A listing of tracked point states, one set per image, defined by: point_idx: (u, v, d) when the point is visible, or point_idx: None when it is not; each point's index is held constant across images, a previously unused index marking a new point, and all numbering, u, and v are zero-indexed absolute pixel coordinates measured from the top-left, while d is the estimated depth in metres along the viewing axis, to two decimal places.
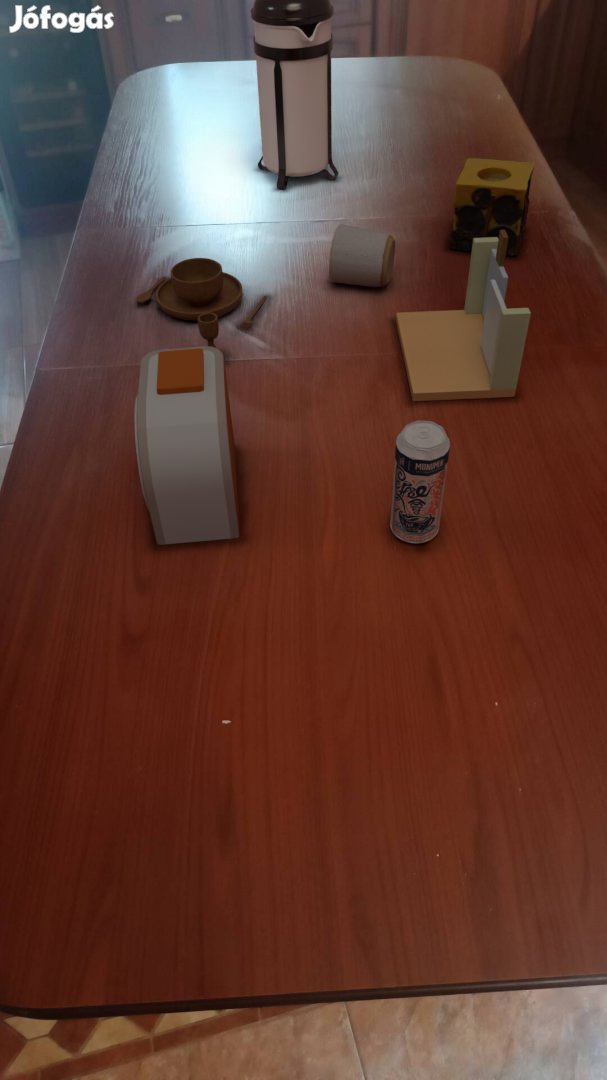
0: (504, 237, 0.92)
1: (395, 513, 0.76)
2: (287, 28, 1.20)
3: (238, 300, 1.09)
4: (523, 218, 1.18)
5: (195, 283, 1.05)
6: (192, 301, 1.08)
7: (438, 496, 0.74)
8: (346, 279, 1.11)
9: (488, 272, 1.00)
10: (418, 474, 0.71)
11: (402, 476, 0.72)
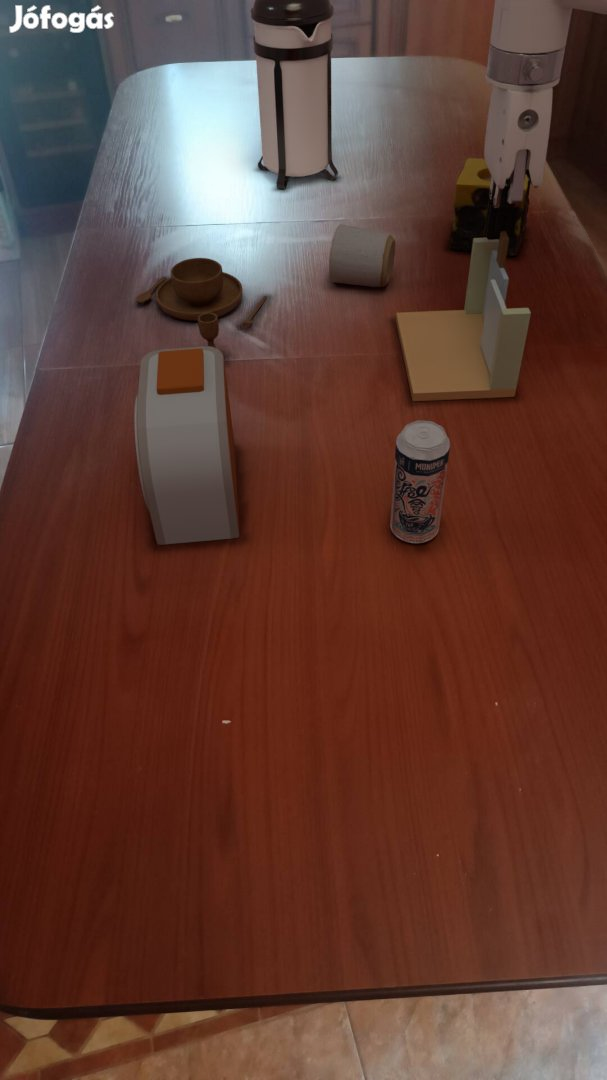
0: (505, 238, 0.92)
1: (395, 513, 0.76)
2: (287, 28, 1.20)
3: (238, 300, 1.09)
4: (523, 218, 1.18)
5: (195, 283, 1.05)
6: (192, 301, 1.08)
7: (438, 496, 0.74)
8: (346, 279, 1.11)
9: (489, 273, 1.00)
10: (418, 474, 0.71)
11: (402, 476, 0.72)
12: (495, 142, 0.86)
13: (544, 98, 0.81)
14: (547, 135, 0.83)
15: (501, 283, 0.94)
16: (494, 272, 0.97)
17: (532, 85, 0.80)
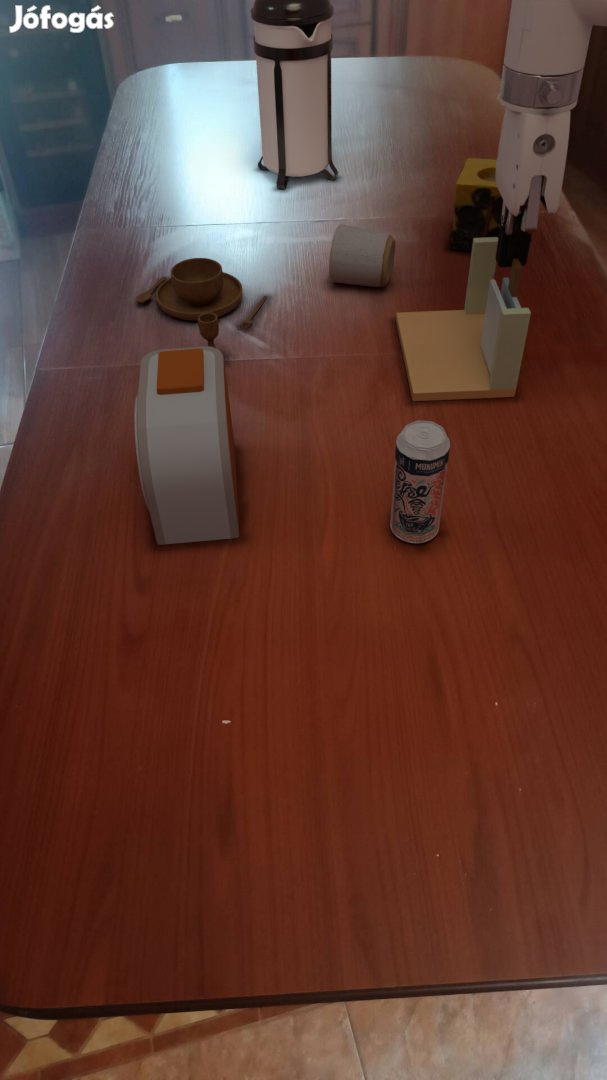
0: (517, 267, 0.87)
1: (395, 513, 0.76)
2: (287, 28, 1.20)
3: (238, 300, 1.09)
4: None
5: (195, 283, 1.05)
6: (192, 301, 1.08)
7: (438, 496, 0.74)
8: (346, 279, 1.11)
9: None
10: (418, 474, 0.71)
11: (402, 476, 0.72)
12: (508, 167, 0.81)
13: (561, 122, 0.76)
14: (564, 160, 0.78)
15: None
16: (506, 301, 0.92)
17: (548, 108, 0.76)
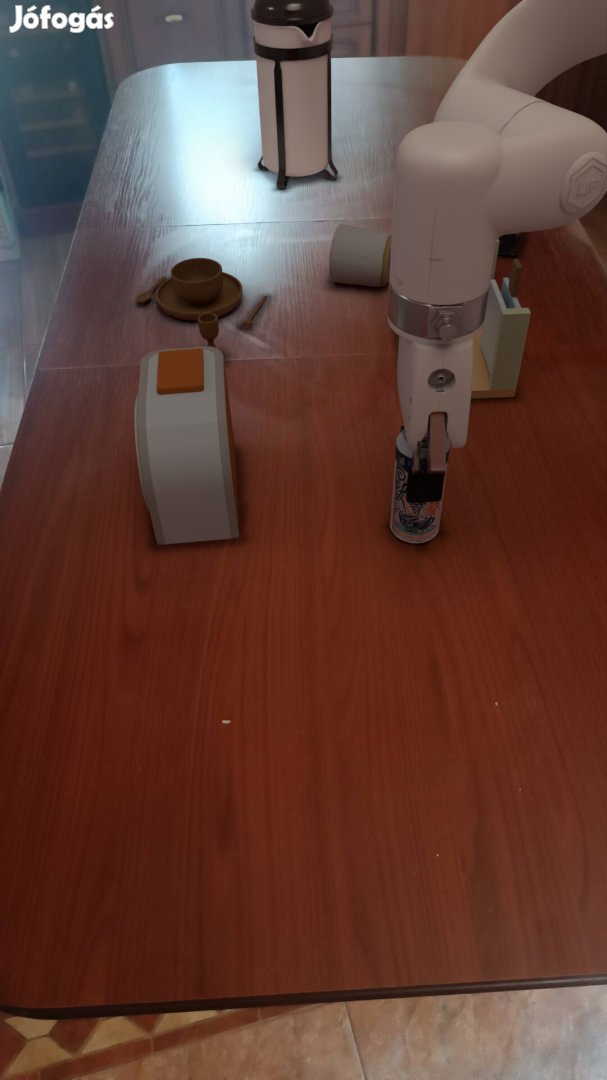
0: (518, 267, 0.87)
1: (395, 513, 0.76)
2: (287, 28, 1.20)
3: (238, 300, 1.09)
4: None
5: (195, 283, 1.05)
6: (192, 301, 1.08)
7: None
8: (346, 279, 1.11)
9: None
10: None
11: (402, 476, 0.72)
12: (403, 393, 0.65)
13: (461, 355, 0.60)
14: (468, 395, 0.62)
15: None
16: (506, 301, 0.92)
17: None
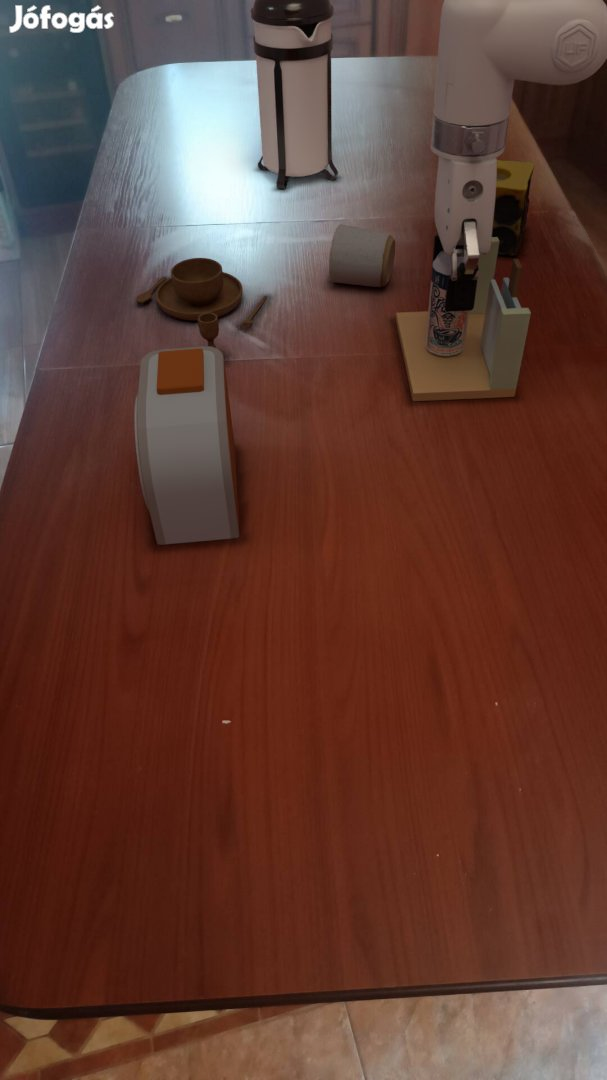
0: (518, 267, 0.87)
1: (430, 330, 0.96)
2: (287, 28, 1.20)
3: (238, 300, 1.09)
4: (523, 218, 1.18)
5: (195, 283, 1.05)
6: (192, 301, 1.08)
7: (465, 311, 0.94)
8: (346, 279, 1.11)
9: None
10: None
11: (437, 293, 0.92)
12: (442, 209, 0.85)
13: (488, 169, 0.79)
14: (493, 204, 0.82)
15: None
16: (506, 301, 0.92)
17: (475, 156, 0.79)
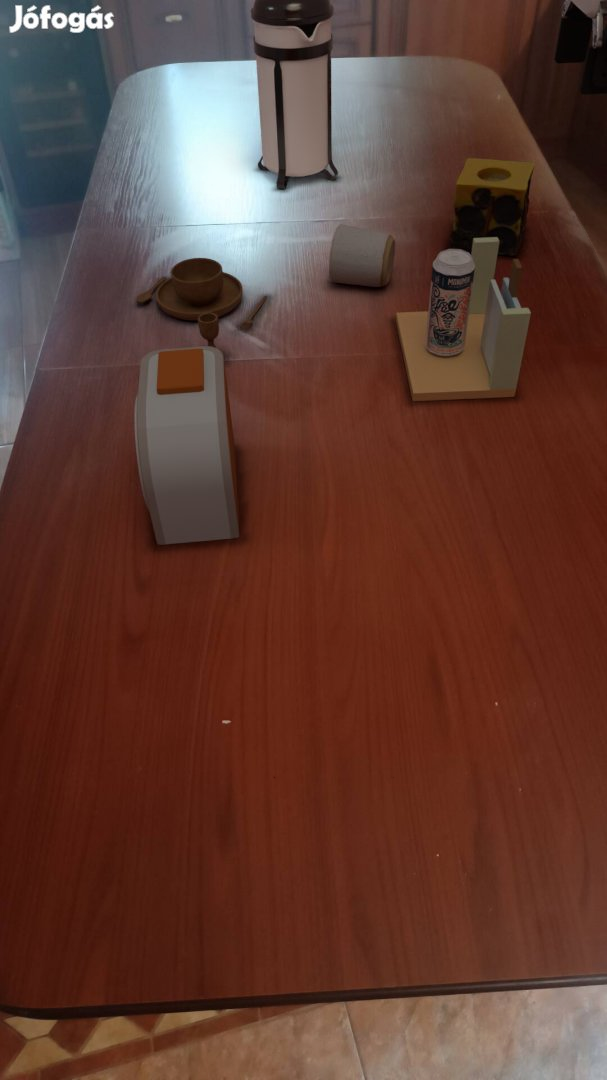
0: (518, 267, 0.87)
1: (430, 330, 0.96)
2: (287, 28, 1.20)
3: (238, 300, 1.09)
4: (523, 218, 1.18)
5: (195, 283, 1.05)
6: (192, 301, 1.08)
7: (465, 311, 0.94)
8: (346, 279, 1.11)
9: None
10: (450, 289, 0.91)
11: (437, 293, 0.92)
12: None
13: None
14: None
15: None
16: (506, 301, 0.92)
17: None
